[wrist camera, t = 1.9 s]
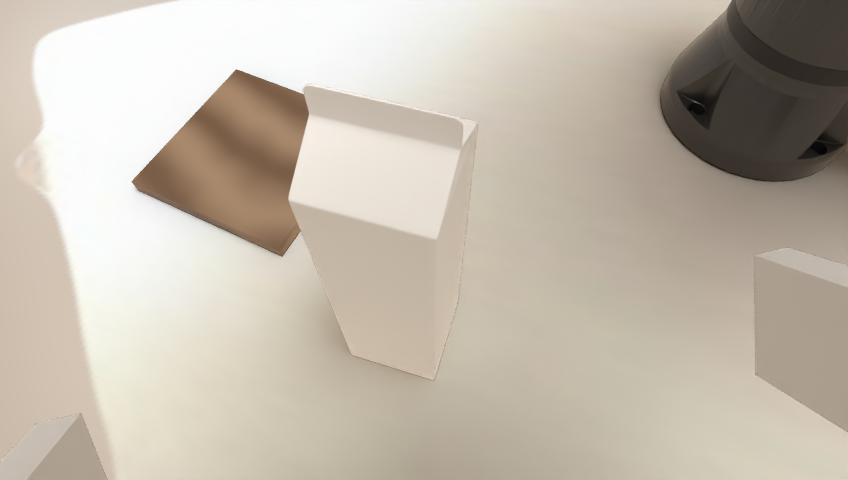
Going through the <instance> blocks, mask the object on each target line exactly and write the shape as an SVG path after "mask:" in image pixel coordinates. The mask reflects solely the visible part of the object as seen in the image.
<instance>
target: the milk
mask: <svg viewBox="0 0 848 480" xmlns="http://www.w3.org/2000/svg"><path fill="white" fill-rule="evenodd" d="M303 92H304V96H305V100H306V103H307V107H308V111H309V117H308V121H307V125H306V129H305V133H304V137H303V140H302V144H301V148H300V152H299V156H298V160H297V164H296V168H295V172H294V176H293V180H292V184H291V188H290V192H289V196H288V200H289V203H290V206H291V208H292V211H293V213H294V216H295V218H296V220H297V223H298V225H299V228H300V230H301V233H302V235H303V238H304V240H305V242H306V245H307V247H308V250H309V252H310V255H311V257H312V260H313V262H314V264H315V267H316V269H317V272H318V274H319V277H320V279H321V282H322V284H323V286H324V289H325V291H326V294H327V296H328V299H329V301H330V304H331V306H332V308H333V311H334V313H335V316H336V318H337V321H338V323H339V326H340V328H341V330H342V333H343V335H344V338H345V340H346V343H347V345H348V348H349V350H350V353H351V354H352V355H353V356H357V357H360V358H363V359H366V360H369V361H373V362H376V363H379V364H382V365H386V366H389V367H392V368H395V369H398V370H402V371H405V372H408V373H411V374H415V375H418V376H421V377H424V378H427V379H431V380H434V379H435V376H436V373H437V369H438V366H439V363H440V359H441V356H442V353H443V350H444V346H445V343H446V340H447V337H448V333H449V330H450V327H451V324H452V320H453V317H454V314H455V310H456V307H457V304H458V297H459V288H460V279H461V270H462V262H463V253H464V244H465V235H466V226H467V217H468V208H469V199H470V190H471V181H472V172H473V163H474V154H475V146H476V137H477V128H478V122H476V121H472V120H468V119H463V118H459V117H455V116H452V115H447V114H443V113H439V112H434V111H430V110H425V109H421V108H417V107H412V106H408V105H403V104H399V103H395V102H390V101H386V100H381V99H377V98H373V97H368V96H364V95H359V94H355V93H350V92H346V91H342V90H337V89H333V88H328V87H324V86H320V85H315V84H307V85H305V87H304V89H303Z"/></svg>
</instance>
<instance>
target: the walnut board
mask: <svg viewBox="0 0 848 480" xmlns="http://www.w3.org/2000/svg"><path fill="white" fill-rule="evenodd" d="M308 117H309V111H308V107H307V103H306V100H305V96H304V94H301V93H299V92H296V91H293V90H290V89H288V88H285V87H282V86H280V85H277V84H274V83H272V82H269V81H266V80H264V79H261V78H258V77H256V76H253V75H250V74H248V73H245V72H242V71H239V70H237V69H236V70H235V71H234V72H233V74H232V75H231V76H230V77H229V78H228V79H227V80H226V81H225V82H224V83H223V84H222V85H221V86H220V87H219V89H218V90H217V91H216V92H215V93H214V94H213V95H212V96H211V97H210V98H209V99H208V100H207V101H206V102H205V103H204V105H203V106H202V107H201V108H200V109H199V110H198V111H197V112H196V113H195V114H194V115H193V116H192V117H191V118H190V120H189V121H188V122H187V123H186V124H185V125H184V126H183V127H182V128H181V129H180V130H179V131H178V132H177V133H176V135H175V136H174V137H173V138H172V139H171V140H170V141H169V142H168V143H167V144H166V145H165V146H164V147H163V148H162V150H161V151H160V152H159V153H158V154H157V155H156V156H155V157H154V158H153V159H152V160H151V161H150V162H149V163H148V164H147V166H146V167H145V168H144V169H143V170H142V171H141V172H140V173H139V174H138V175H137V176H136V177H135V178H134V179H133V181H132V183H133V184H134V185H135V187H136V188H137V189H138V190H139V191H141V192H143V193H145V194H147V195H150V196H152V197H154V198H156V199H158V200H161V201H163V202H165V203H167V204H169V205H171V206H174V207H176V208H178V209H180V210H182V211H185V212H187V213H189V214H191V215H193V216H195V217H198V218H200V219H202V220H204V221H206V222H208V223H211V224H213V225H215V226H217V227H219V228H222V229H224V230H226V231H228V232H230V233H232V234H235V235H237V236H239V237H241V238H243V239H245V240H248V241H250V242H252V243H254V244H256V245H259V246H261V247H263V248H265V249H267V250H269V251H272V252H274V253H276V254H278V255H280V256H283V255H284V253H285V252H286V251H287V249H288V248H289V246H290V245H291V243H292V242H293V241H294V239H295V238H296V236H297V235H298V233H299V232H300V231H301V230H300V228H299V225H298V223H297V220H296V218H295V216H294V213H293V211H292V208H291V206H290V203H289V200H288V196H289V192H290V188H291V184H292V180H293V176H294V172H295V168H296V164H297V160H298V156H299V152H300V148H301V144H302V140H303V137H304V133H305V129H306V125H307V121H308Z"/></svg>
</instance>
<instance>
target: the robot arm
mask: <svg viewBox="0 0 848 480" xmlns="http://www.w3.org/2000/svg"><path fill="white" fill-rule="evenodd" d="M661 105H662V110H663V113H664V116H665V118H666V121H667V123H668V124H669V126H670V128H671V129H672V131H673V132H674V133H675V135H676V136H677V137H678V138H679V139H680V140H681V142H682V143H683V144H684V145H686V146H687V147H688V148H689V149H690V150H691V151H693V152H694V153H695V154H697V155H698V156H699V157H701V158H703V159H704V160H706V161H707V162H709V163H711V164H713V165H715V166H717V167H719V168H721V169H723V170H726V171H728V172H731V173H734V174H737V175H740V176H744V177H748V178H753V179H759V180H769V181H785V180H793V179H799V178H803V177H806V176H809V175H812V174H814V173H816V172H818V171H820V170H822V169H823V168H825V167H826V166H827V165H828V164H829V163H830V162H831V161H832V160H833V159H835V158H836V157H837V156H838V155H839V154H840V153H841V152H842V151H843V150H844V149H845V148H846V147H847V146H848V0H732V1H731V3H730V5H729V6H728V8H727V10H726V11H725V12H724V13H723V14H722V15H721V16H719V17H718V18H717V19H716V20H715V21H714V22H713V23H712V24H711V25H710V26H709V27H708V28H707V29H706V30H705V31H704V32H703V33H702V34H700V35H699V36H698V37H697V38H696V39H695V40H694V41H693V42H692V43H691V44H690V45H689V46H688V47H687V48H686V49H685V50H684V51H683V52H682V53H681V54H680V55H679V56H678V58H677V59H676V61H675V62H674V64H673V66H672V67H671V69H670V71H669V73H668V75H667V77H666V79H665V81H664V84H663V87H662V91H661ZM754 304H755V375H757V376H758V377H760V378H762V379H763V380H765V381H766V382H768V383H770V384H771V385H773V386H774V387H776V388H778V389H779V390H781V391H782V392H784V393H786V394H787V395H789V396H790V397H792V398H794V399H795V400H797V401H798V402H800V403H802V404H803V405H805V406H806V407H808V408H810V409H811V410H813V411H814V412H816V413H818V414H819V415H821V416H822V417H824V418H826V419H827V420H829V421H830V422H832V423H834V424H835V425H837V426H839V427H840V428H842V429H843V430H845V431H847V432H848V265H844V264H841V263H838V262H834V261H831V260H828V259H825V258H821V257H818V256H815V255H811V254H808V253H805V252H801V251H798V250H795V249H791V248H788V247H787V248H782V249H778V250H774V251H770V252H765V253H761V254H757V255H754ZM0 480H107V477H106V475H105V472H104V470H103V467H102V465H101V462H100V460H99V457H98V454H97V452H96V449H95V447H94V444H93V442H92V439H91V436H90V434H89V431H88V429H87V427H86V424H85V422H84V419H83V416H82V414H81V413H80V414H75V415H71V416H66V417H62V418H58V419H54V420H50V421H45V422H41V423H37V424H35V425H34V426H33V427H32V428H31V429H30V430H29V431H28V432H27V433H26V434H25V435H24V436H23V437H22V439H21V440H19V442H18V443H17V444H16V445H15V446H14V447H13V448H12V449H11V450H10V451H9V452H8V453H7V454H6V455H5V456H4V457H3V458H2V460H1V461H0Z"/></svg>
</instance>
